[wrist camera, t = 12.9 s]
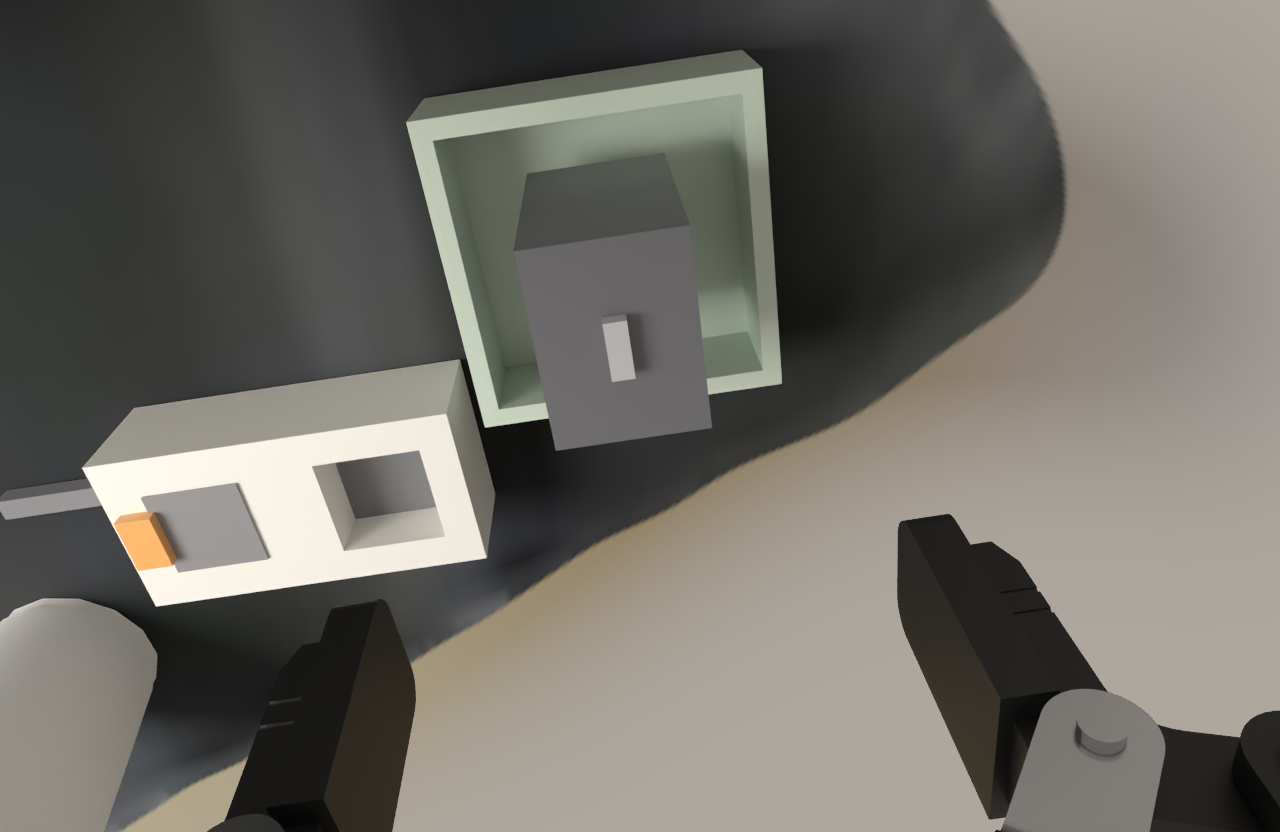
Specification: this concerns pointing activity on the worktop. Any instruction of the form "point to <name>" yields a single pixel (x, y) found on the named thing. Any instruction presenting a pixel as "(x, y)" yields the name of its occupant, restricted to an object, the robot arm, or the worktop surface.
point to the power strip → (289, 484)
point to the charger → (612, 301)
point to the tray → (592, 133)
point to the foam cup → (68, 712)
